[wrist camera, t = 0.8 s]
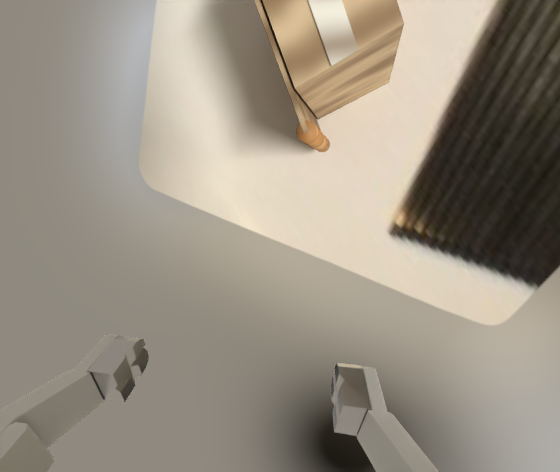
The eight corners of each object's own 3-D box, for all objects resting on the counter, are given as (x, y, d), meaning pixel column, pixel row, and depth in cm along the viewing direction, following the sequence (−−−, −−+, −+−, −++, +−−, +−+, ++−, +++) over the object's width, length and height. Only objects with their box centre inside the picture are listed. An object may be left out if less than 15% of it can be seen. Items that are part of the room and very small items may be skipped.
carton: (281, 17, 42) (234, -73, 27) (350, -34, 37) (340, -176, 22) (318, 119, 43) (294, 87, 28) (388, 82, 39) (404, 22, 24)
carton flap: (271, 22, 42) (224, -56, 28) (283, 13, 41) (241, -73, 27) (320, 155, 44) (300, 144, 30) (333, 149, 43) (318, 135, 29)
